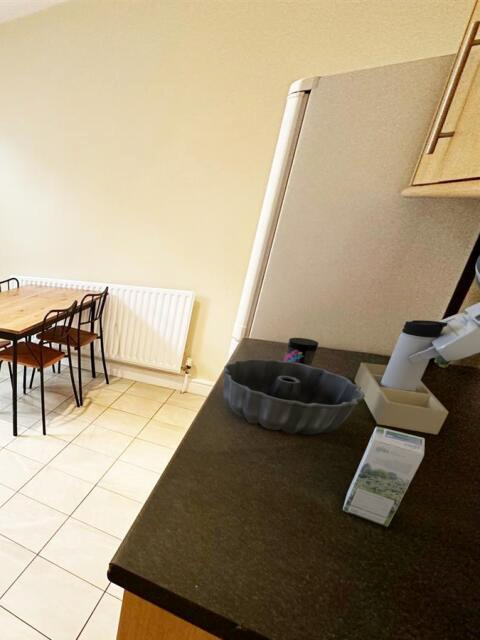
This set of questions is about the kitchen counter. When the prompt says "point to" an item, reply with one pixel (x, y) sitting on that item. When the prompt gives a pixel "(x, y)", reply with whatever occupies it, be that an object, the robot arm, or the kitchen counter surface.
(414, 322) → the travel mug
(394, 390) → the organiser
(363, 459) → the syrup box
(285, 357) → the supplement container
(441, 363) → the vegetable
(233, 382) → the bundt pan
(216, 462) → the kitchen counter surface
